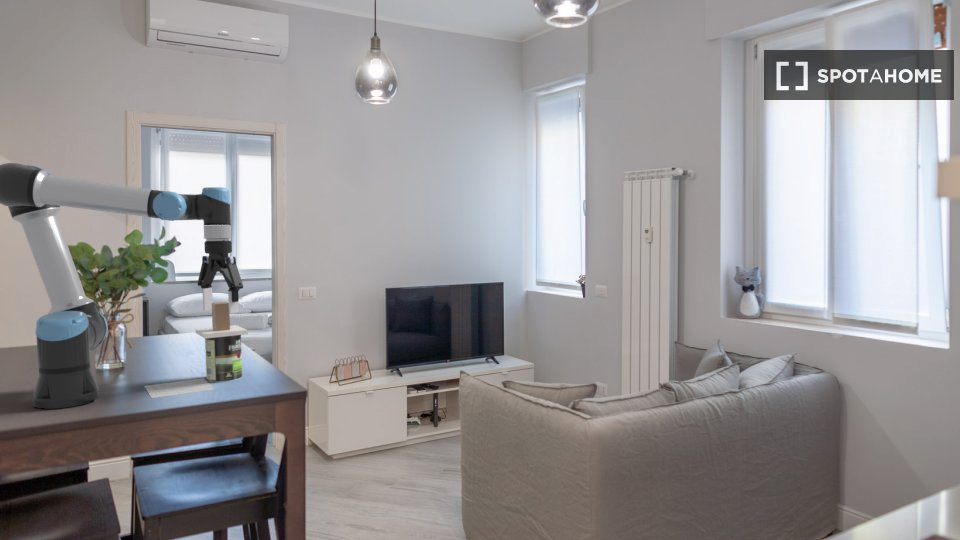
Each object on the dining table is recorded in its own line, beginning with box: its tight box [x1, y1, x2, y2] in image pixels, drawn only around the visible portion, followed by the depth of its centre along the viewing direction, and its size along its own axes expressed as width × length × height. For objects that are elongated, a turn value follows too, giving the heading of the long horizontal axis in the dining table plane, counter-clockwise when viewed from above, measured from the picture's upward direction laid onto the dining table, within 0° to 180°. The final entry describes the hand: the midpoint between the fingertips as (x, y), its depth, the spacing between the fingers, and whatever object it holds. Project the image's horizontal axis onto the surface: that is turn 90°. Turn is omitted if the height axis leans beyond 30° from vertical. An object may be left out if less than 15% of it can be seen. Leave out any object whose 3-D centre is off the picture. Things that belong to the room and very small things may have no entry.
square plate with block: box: [195, 301, 249, 340], centre depth 198 cm, size 12×12×9 cm
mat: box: [144, 377, 216, 399], centre depth 188 cm, size 16×16×1 cm
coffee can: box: [204, 335, 243, 383], centre depth 199 cm, size 10×10×14 cm
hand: (220, 311), depth 198 cm, fingers open, 13 cm apart
